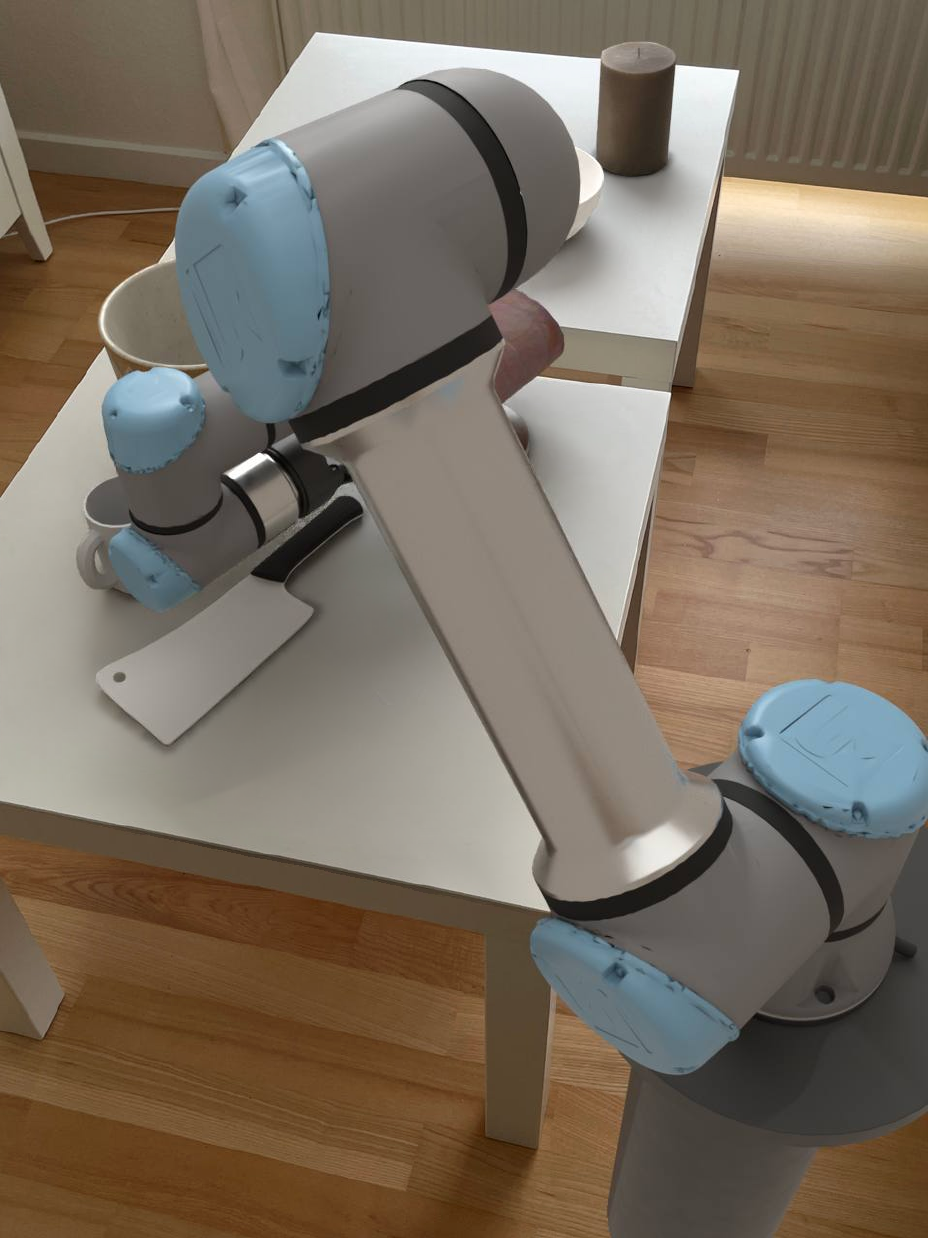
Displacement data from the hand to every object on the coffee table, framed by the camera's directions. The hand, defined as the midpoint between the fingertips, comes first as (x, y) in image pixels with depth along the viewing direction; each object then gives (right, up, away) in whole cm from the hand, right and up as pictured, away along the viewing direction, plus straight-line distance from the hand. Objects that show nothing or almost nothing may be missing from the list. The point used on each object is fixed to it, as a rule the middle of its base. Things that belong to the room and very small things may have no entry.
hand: (455, 364), depth 119 cm
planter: (-24, -6, +12) cm, 27 cm away
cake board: (+1, -6, +10) cm, 12 cm away
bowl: (+9, +25, +38) cm, 46 cm away
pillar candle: (+23, +38, +49) cm, 66 cm away
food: (+1, -3, +6) cm, 7 cm away
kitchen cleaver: (-18, -24, -5) cm, 30 cm away
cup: (-30, -21, -1) cm, 37 cm away
